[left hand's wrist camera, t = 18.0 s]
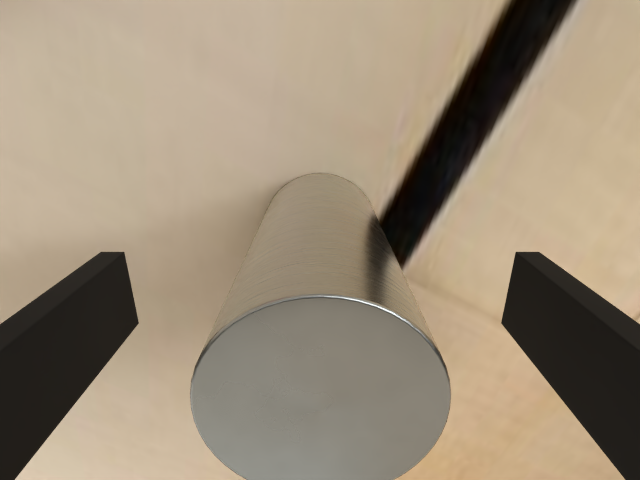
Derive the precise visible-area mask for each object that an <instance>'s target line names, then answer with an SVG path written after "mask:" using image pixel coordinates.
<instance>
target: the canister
mask: <svg viewBox="0 0 640 480" xmlns="http://www.w3.org/2000/svg"><path fill="white" fill-rule="evenodd" d="M190 399H191V409H192V414H193V418H194V422H195V424H196V426H197V429H198V431H199V434H200V435H201V437H202V439H203V440H204V442H205V444H206V445H207V446H208V448H209V449H210V450H211V451H212V453H213V454H214V455H215V456H216V457H217V458H218V459H219V460H220V461H221V462H222V463H223V464H224V465H226V466H227V467H228V468H230V469H231V470H232V471H234V472H235V473H236V474H238V475H240V476H241V477H243V478H245V479H247V480H394V479H396V478H398V477H400V476H401V475H403V474H405V473H406V472H407V471H409V470H410V469H411V468H413V467H414V466H415V465H417V464H418V463H419V462H420V461H421V460H422V459H423V458H424V457H425V456H426V455H427V454H428V453H429V451H430V450H431V449H432V448H433V446H434V445H435V444H436V442H437V440H438V439H439V437H440V435H441V434H442V431H443V429H444V427H445V424H446V422H447V418H448V414H449V410H450V400H451V388H450V379H449V375H448V371H447V368H446V365H445V363H444V361H443V359H442V356H441V354H440V352H439V350H438V348H437V346H436V343H435V341H434V339H433V337H432V335H431V333H430V331H429V328H428V326H427V324H426V322H425V320H424V318H423V316H422V313H421V311H420V309H419V307H418V305H417V303H416V300H415V298H414V296H413V294H412V292H411V290H410V288H409V285H408V283H407V281H406V279H405V277H404V275H403V273H402V270H401V268H400V266H399V264H398V262H397V260H396V258H395V255H394V253H393V251H392V249H391V247H390V245H389V243H388V240H387V238H386V236H385V234H384V232H383V230H382V228H381V225H380V223H379V221H378V219H377V217H376V215H375V213H374V210H373V208H372V206H371V204H370V202H369V200H368V199H367V197H366V196H365V194H364V193H363V192H362V191H361V190H360V189H359V188H358V187H357V186H356V185H354V184H353V183H351V182H350V181H348V180H346V179H344V178H342V177H339V176H336V175H331V174H323V173H317V174H309V175H304V176H301V177H299V178H296V179H294V180H292V181H291V182H289V183H288V184H286V185H285V186H284V187H282V188H281V189H280V190H279V191H278V192H277V194H276V195H275V196H274V198H273V199H272V201H271V203H270V205H269V207H268V209H267V211H266V213H265V216H264V218H263V220H262V222H261V224H260V226H259V229H258V231H257V233H256V235H255V237H254V239H253V242H252V244H251V246H250V248H249V250H248V253H247V255H246V257H245V259H244V261H243V263H242V266H241V268H240V270H239V272H238V274H237V276H236V279H235V281H234V283H233V285H232V287H231V289H230V292H229V294H228V296H227V298H226V300H225V302H224V305H223V307H222V309H221V311H220V313H219V316H218V318H217V320H216V322H215V324H214V326H213V329H212V331H211V333H210V335H209V337H208V339H207V342H206V344H205V346H204V348H203V350H202V352H201V355H200V357H199V359H198V361H197V363H196V365H195V369H194V372H193V376H192V380H191V389H190Z"/></svg>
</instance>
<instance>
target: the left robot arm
mask: <svg viewBox="0 0 640 480" xmlns="http://www.w3.org/2000/svg"><path fill="white" fill-rule="evenodd" d="M138 323H139V322H138V317H137V312H136V308H135V303H134V298H133V293H132V288H131V283H130V278H129V273H128V268H127V263H126V258H125V254H124V252H100V253H99V254H98V255H96V256H95V257H93V258H92V259H91V260H89V261H88V262H86V263H85V264H84V265H82V266H81V267H79V268H78V269H77V270H75V271H74V272H72V273H71V274H70V275H68V276H67V277H66V278H64V279H63V280H61V281H60V282H59V283H57V284H56V285H54V286H53V287H52V288H50V289H49V290H47V291H46V292H45V293H43V294H42V295H40V296H39V297H38V298H36V299H35V300H34V301H32V302H31V303H29V304H28V305H27V306H25V307H24V308H22V309H21V310H20V311H18V312H17V313H15V314H14V315H13V316H11V317H10V318H8V319H7V320H6V321H4V322H3V323H1V324H0V480H15V478H16V477H17V476H18V475H19V473H20V472H21V471H22V470H23V468H24V467H25V466H26V465H27V463H28V462H29V461H30V459H31V458H32V457H33V456H34V454H35V453H36V452H37V451H38V449H39V448H40V447H41V446H42V444H43V443H44V442H45V441H46V439H47V438H48V437H49V436H50V434H51V433H52V432H53V430H54V429H55V428H56V427H57V425H58V424H59V423H60V422H61V420H62V419H63V418H64V417H65V415H66V414H67V413H68V412H69V410H70V409H71V408H72V407H73V405H74V404H75V403H76V402H77V400H78V399H79V398H80V396H81V395H82V394H83V393H84V391H85V390H86V389H87V388H88V386H89V385H90V384H91V383H92V381H93V380H94V379H95V378H96V376H97V375H98V374H99V373H100V371H101V370H102V369H103V367H104V366H105V365H106V364H107V362H108V361H109V360H110V359H111V357H112V356H113V355H114V354H115V352H116V351H117V350H118V349H119V347H120V346H121V345H122V344H123V342H124V341H125V340H126V339H127V337H128V336H129V335H130V333H131V332H132V331H133V330H134V328H135V327H136V326H137V325H138ZM501 323H502V325H503V326H504V327H505V328H506V330H507V331H508V332H509V333H510V335H511V336H512V337H513V339H514V340H515V341H516V342H517V344H518V345H519V346H520V347H521V349H522V350H523V351H524V352H525V354H526V355H527V356H528V357H529V359H530V360H531V361H532V362H533V364H534V365H535V366H536V367H537V369H538V370H539V371H540V373H541V374H542V375H543V376H544V378H545V379H546V380H547V381H548V383H549V384H550V385H551V386H552V388H553V389H554V390H555V391H556V393H557V394H558V395H559V396H560V398H561V399H562V400H563V402H564V403H565V404H566V405H567V407H568V408H569V409H570V410H571V412H572V413H573V414H574V415H575V417H576V418H577V419H578V420H579V422H580V423H581V424H582V425H583V427H584V428H585V429H586V430H587V432H588V433H589V434H590V436H591V437H592V438H593V439H594V441H595V442H596V443H597V444H598V446H599V447H600V448H601V449H602V451H603V452H604V453H605V454H606V456H607V457H608V458H609V459H610V461H611V462H612V463H613V465H614V466H615V467H616V468H617V470H618V471H619V472H620V473H621V475H622V476H623V477H624V478H625V480H640V324H639V323H637V322H636V321H634V320H633V319H632V318H630V317H629V316H627V315H626V314H625V313H623V312H622V311H620V310H619V309H618V308H616V307H615V306H613V305H612V304H611V303H609V302H608V301H606V300H605V299H604V298H602V297H601V296H600V295H598V294H597V293H595V292H594V291H593V290H591V289H590V288H588V287H587V286H586V285H584V284H583V283H581V282H580V281H579V280H577V279H576V278H574V277H573V276H572V275H570V274H569V273H568V272H566V271H565V270H563V269H562V268H561V267H559V266H558V265H556V264H555V263H554V262H552V261H551V260H549V259H548V258H547V257H545V256H544V255H542V254H541V253H540V252H516V254H515V258H514V263H513V268H512V273H511V278H510V283H509V288H508V293H507V298H506V303H505V308H504V312H503V317H502V322H501Z"/></svg>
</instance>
